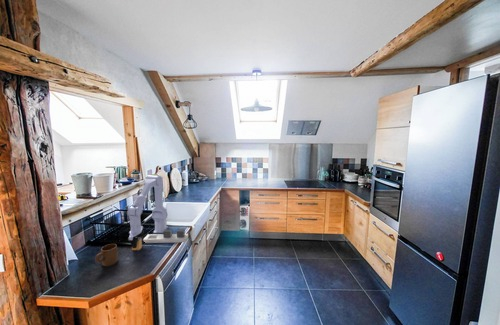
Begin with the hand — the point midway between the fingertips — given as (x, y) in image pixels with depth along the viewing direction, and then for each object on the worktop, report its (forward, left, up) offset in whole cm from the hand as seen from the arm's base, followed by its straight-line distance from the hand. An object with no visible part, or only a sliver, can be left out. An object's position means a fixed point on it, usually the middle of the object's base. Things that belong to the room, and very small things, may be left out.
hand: (136, 245), depth 130 cm
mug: (+16, -9, -3) cm, 19 cm away
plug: (0, 0, -2) cm, 2 cm away
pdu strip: (-10, +15, -2) cm, 18 cm away
